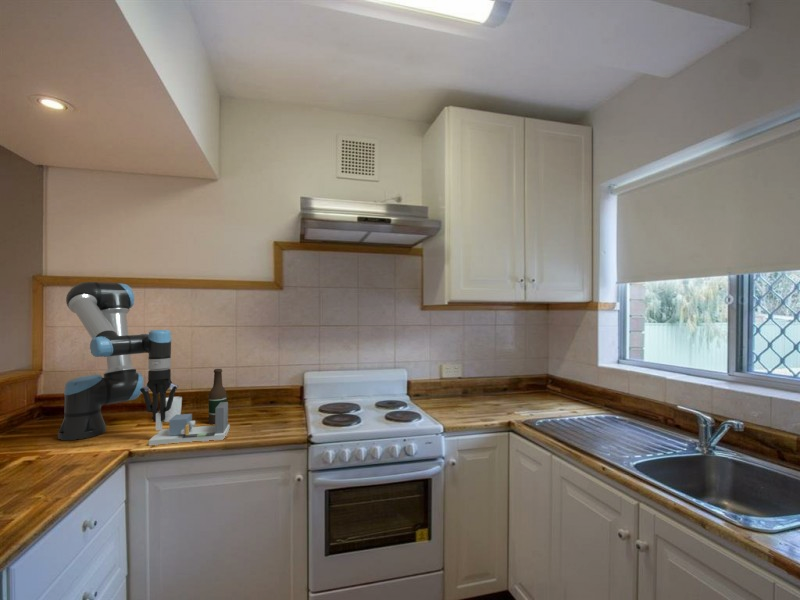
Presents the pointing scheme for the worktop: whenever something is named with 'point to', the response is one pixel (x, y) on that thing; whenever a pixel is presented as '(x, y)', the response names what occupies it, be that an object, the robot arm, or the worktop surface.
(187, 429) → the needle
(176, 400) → the white cup
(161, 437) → the board
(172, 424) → the carriage
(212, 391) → the beer bottle
